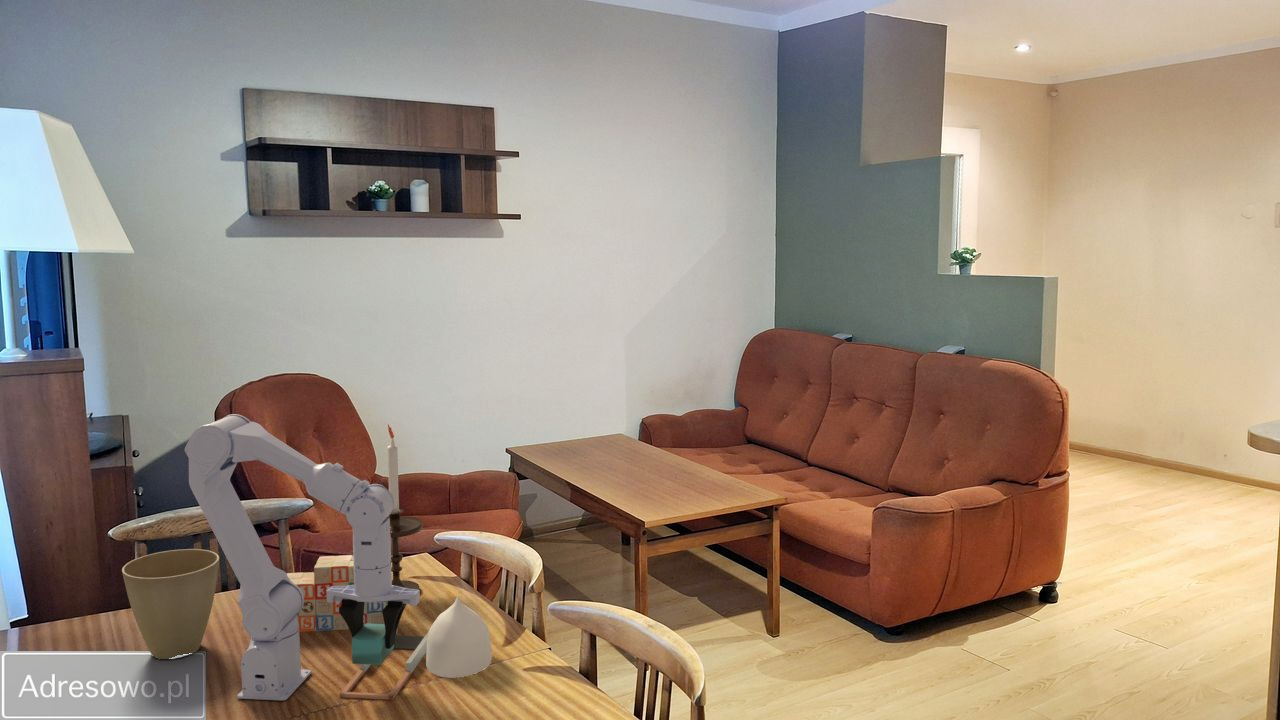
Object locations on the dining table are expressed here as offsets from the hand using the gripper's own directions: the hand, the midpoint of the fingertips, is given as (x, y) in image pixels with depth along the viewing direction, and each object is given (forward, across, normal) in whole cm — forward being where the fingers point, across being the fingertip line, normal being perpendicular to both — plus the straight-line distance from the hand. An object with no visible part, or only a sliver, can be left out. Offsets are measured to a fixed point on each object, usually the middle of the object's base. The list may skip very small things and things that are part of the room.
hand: (374, 645), depth 145 cm
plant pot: (+7, +39, -9) cm, 41 cm away
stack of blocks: (+7, +18, -22) cm, 29 cm away
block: (+2, 0, +1) cm, 2 cm away
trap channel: (+7, 0, -8) cm, 10 cm away
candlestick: (+7, +10, -38) cm, 40 cm away
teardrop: (+7, -11, -9) cm, 16 cm away
